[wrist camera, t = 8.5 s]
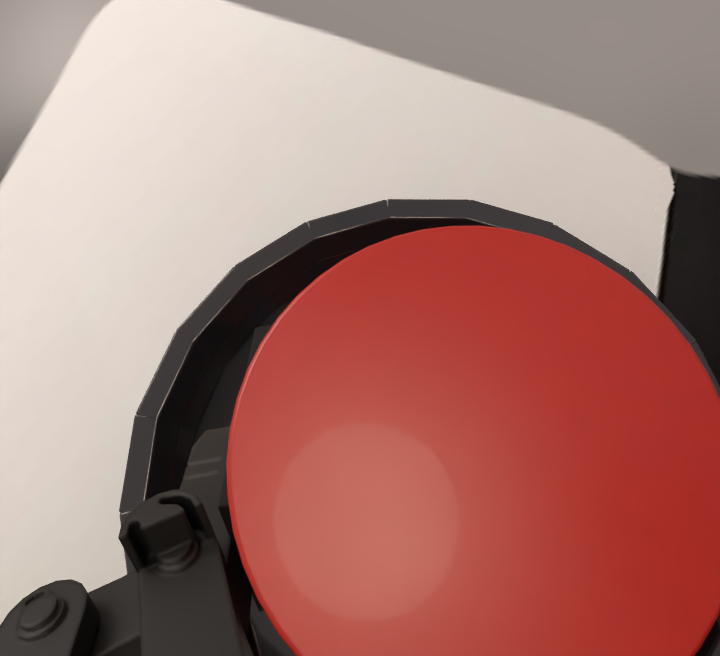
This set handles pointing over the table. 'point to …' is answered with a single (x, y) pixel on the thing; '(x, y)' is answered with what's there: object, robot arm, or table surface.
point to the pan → (262, 308)
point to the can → (478, 458)
